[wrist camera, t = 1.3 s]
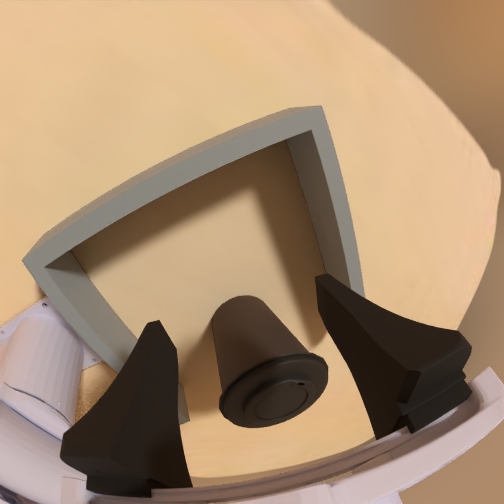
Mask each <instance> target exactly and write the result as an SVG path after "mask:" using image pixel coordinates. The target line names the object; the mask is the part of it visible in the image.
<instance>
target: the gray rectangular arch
mask: <svg viewBox="0 0 504 504" xmlns="http://www.w3.org/2000/svg"><path fill="white" fill-rule="evenodd" d="M282 140H286V143H287V145H288V148H289V151H290V154H291V157H292V160H293V163H294V166H295V169H296V172H297V175H298V178H299V181H300V185H301V188H302V191H303V194H304V197H305V201H306V204H307V207H308V210H309V214H310V217H311V221H312V224H313V227H314V231H315V234H316V238H317V242H318V245H319V249H320V252H321V256H322V260H323V264H324V267H325V271H326V273H328V274H330V275H331V276H333V277H334V278H336V279H337V280H338V281H340V282H341V283H343V284H344V285H346V286H347V287H348V288H350V289H351V290H353V291H354V292H356V293H358V294H359V295H361V296H362V297H364V298H365V294H364V286H363V279H362V273H361V266H360V260H359V254H358V249H357V243H356V238H355V232H354V227H353V222H352V217H351V213H350V208H349V203H348V199H347V194H346V190H345V186H344V182H343V178H342V174H341V170H340V166H339V162H338V158H337V155H336V151H335V147H334V144H333V140H332V137H331V133H330V130H329V127H328V124H327V120H326V117H325V114H324V111H323V108H322V106H307V107H295V108H288V109H286V110H283V111H280V112H277V113H274V114H271V115H268V116H266V117H263V118H260V119H258V120H255V121H252V122H250V123H247V124H245V125H242V126H240V127H237V128H235V129H232V130H230V131H227V132H225V133H223V134H220V135H218V136H216V137H213V138H211V139H209V140H207V141H204V142H202V143H200V144H198V145H196V146H193V147H191V148H189V149H187V150H185V151H183V152H181V153H179V154H177V155H175V156H173V157H171V158H169V159H167V160H165V161H163V162H161V163H159V164H157V165H155V166H153V167H151V168H149V169H147V170H145V171H144V172H142V173H140V174H138V175H136V176H134V177H133V178H131V179H129V180H127V181H126V182H124V183H122V184H120V185H119V186H117V187H115V188H114V189H112V190H110V191H108V192H107V193H105V194H104V195H102V196H100V197H99V198H97V199H95V200H94V201H92V202H91V203H89V204H87V205H86V206H84V207H83V208H81V209H80V210H78V211H77V212H75V213H74V214H72V215H71V216H69V217H68V218H66V219H65V220H63V221H62V222H60V223H59V224H58V225H56V226H55V227H53V228H52V229H51V230H49V231H48V232H46V233H45V234H44V235H43V236H42V237H41V238H40V239H39V241H38V242H37V243H36V244H35V245H34V246H33V247H32V249H31V250H30V251H29V252H28V253H27V254H26V256H25V257H24V258H23V259H22V262H23V263H24V265H25V266H26V268H27V269H28V271H29V272H30V274H31V275H32V276H33V278H34V279H35V281H36V282H37V283H38V285H39V286H40V287H41V289H42V290H43V291H44V293H45V294H46V295H47V297H48V298H49V299H50V301H51V302H52V303H53V304H54V306H55V307H56V308H57V309H58V311H59V312H60V313H61V314H62V315H63V317H64V318H65V319H66V320H67V321H68V323H69V324H70V325H71V326H72V327H73V328H74V329H75V331H76V332H77V333H78V334H79V335H80V336H81V337H82V338H83V339H84V340H85V342H86V343H87V344H88V345H89V346H90V347H91V348H92V349H93V350H94V351H95V352H96V353H97V354H98V355H99V356H100V357H101V358H102V359H103V360H104V361H105V362H106V363H107V364H108V365H109V366H110V367H111V368H112V369H113V370H114V371H115V372H116V373H117V374H119V372H120V371H121V369H122V367H123V366H124V364H125V362H126V361H127V359H128V357H129V356H130V354H131V352H132V350H133V348H134V347H135V345H136V343H137V341H138V339H137V338H136V337H135V336H134V335H133V333H132V332H131V331H130V330H129V329H128V328H127V326H126V325H125V324H124V323H123V322H122V320H121V319H120V318H119V317H118V316H117V314H116V313H115V312H114V311H113V309H112V308H111V307H110V305H109V304H108V303H107V302H106V300H105V299H104V298H103V296H102V295H101V294H100V292H99V291H98V290H97V288H96V287H95V286H94V284H93V283H92V282H91V280H90V279H89V277H88V276H87V275H86V273H85V272H84V270H83V269H82V267H81V266H80V264H79V263H78V262H77V260H76V259H75V257H74V256H73V254H72V253H71V251H70V249H72V248H73V247H75V246H76V245H78V244H80V243H81V242H83V241H84V240H86V239H87V238H89V237H91V236H92V235H94V234H96V233H97V232H99V231H100V230H102V229H104V228H105V227H107V226H109V225H110V224H112V223H114V222H116V221H117V220H119V219H121V218H122V217H124V216H126V215H128V214H129V213H131V212H133V211H135V210H137V209H138V208H140V207H142V206H144V205H146V204H147V203H149V202H151V201H153V200H155V199H157V198H159V197H161V196H162V195H164V194H166V193H168V192H170V191H172V190H174V189H176V188H178V187H180V186H182V185H184V184H186V183H188V182H190V181H192V180H194V179H196V178H198V177H200V176H202V175H204V174H206V173H209V172H211V171H213V170H215V169H217V168H219V167H221V166H224V165H226V164H228V163H230V162H232V161H235V160H237V159H239V158H242V157H244V156H246V155H248V154H251V153H253V152H255V151H258V150H260V149H263V148H265V147H267V146H270V145H272V144H275V143H277V142H280V141H282ZM178 418H179V425H180V424H183V423H186V422H188V421H190V418H189V414H188V409H187V404H186V399H185V394H184V389H183V386H181V385H180V384H179V383H178Z"/></svg>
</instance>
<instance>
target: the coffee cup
mask: <svg viewBox="0 0 504 504" xmlns="http://www.w3.org/2000/svg"><path fill="white" fill-rule="evenodd" d="M212 329H213V336H214V343H215V350H216V356H217V362H218V369H219V375H220V381H221V387H222V392H223V393H222V395H221V397H220V400H219V410H220V411H221V413H222V415H223V416H224V417H225V418H226V419H228V420H229V421H230V422H232V423H233V424H235V425H237V426H241V427H246V428H262V427H268V426H272V425H276V424H279V423H282V422H285V421H287V420H289V419H291V418H293V417H295V416H297V415H299V414H300V413H302V412H303V411H305V410H306V409H308V408H309V407H310V406H311V405H312V404H313V403H315V402H316V400H317V399H318V398H319V397H320V396H321V394H322V393H323V392H324V390H325V388H326V385H327V383H328V365H327V364H326V362H325V360H324V359H323V358H322V357H320V356H318V355H316V354H314V353H309V352H308V350H307V349H306V348H305V347H304V346H303V345H302V344H301V343H300V342H299V341H298V339H297V338H296V337H295V336H294V335H293V334H292V333H291V332H290V331H289V330H288V328H287V327H286V326H285V325H284V324H283V323H282V322H281V321H280V320H279V318H278V317H277V316H276V315H275V314H274V313H273V312H272V311H271V310H270V308H269V307H268V306H267V305H266V304H265V303H264V302H263V301H262V300H260V299H259V298H257V297H253V296H249V295H247V296H238V297H235V298H232V299H229V300H228V301H226V302H225V303H223V304H222V305H221V306H220V307H219V308H218V309H217V310H216V312H215V314H214V316H213V319H212Z"/></svg>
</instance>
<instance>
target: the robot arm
mask: <svg viewBox="0 0 504 504" xmlns="http://www.w3.org/2000/svg"><path fill="white" fill-rule="evenodd" d="M315 282H316V292H317V302H318V311H319V313H320V316H321V318H322V320H323V323H324V325H325V327H326V329H327V331H328V333H329V334H330V336H331V338H332V339H333V341H334V343H335V344H336V346H337V348H338V350H339V351H340V353H341V355H342V356H343V358H344V360H345V362H346V363H347V365H348V367H349V369H350V371H351V373H352V376H353V378H354V380H355V383H356V385H357V387H358V390H359V392H360V395H361V397H362V400H363V402H364V405H365V408H366V411H367V413H368V416H369V419H370V422H371V425H372V428H373V431H374V434H375V437H376V441H374V442H372V443H370V444H368V445H365V446H363V447H361V448H358V449H356V450H353V451H351V452H348V453H345V454H343V455H340V456H338V457H334V458H332V459H329V460H326V461H323V462H320V463H317V464H313V465H310V466H307V467H304V468H300V469H296V470H293V471H289V472H285V473H281V474H277V475H273V476H268V477H263V478H259V479H253V480H248V481H243V482H236V483H230V484H222V485H214V486H205V487H193V485H192V482H191V479H190V475H189V472H188V468H187V464H186V459H185V455H184V450H183V445H182V439H181V433H180V426H179V418H178V358H177V349H176V347H175V346H174V344H173V342H172V341H171V339H170V337H169V336H168V334H167V332H166V331H165V329H164V327H163V326H162V324H161V322H160V320H157V321H153V322H149V323H147V325H146V326H145V328H144V330H143V332H142V334H141V335H140V337H139V339H138V341H137V343H136V345H135V347H134V348H133V350H132V352H131V354H130V356H129V357H128V359H127V361H126V362H125V364H124V366H123V367H122V369H121V371H120V372H119V374H118V375H117V377H116V378H115V380H114V381H113V383H112V384H111V385H110V387H109V388H108V390H107V391H106V392H105V393H104V395H103V396H102V397H101V398H100V399H99V400H98V402H97V403H96V404H95V405H94V406H93V407H92V408H91V409H90V410H89V411H88V412H87V413H86V414H85V415H84V416H83V417H82V418H81V419H80V420H79V421H78V422H77V423H75V419H76V409H77V400H78V392H79V385H80V378H81V372H82V370H84V369H86V368H88V367H91V366H93V365H95V364H97V363H100V362H102V361H103V359H102V358H101V357H100V356H99V355H98V354H97V353H96V352H95V351H94V350H93V349H92V348H91V347H90V346H89V345H88V344H87V343H86V342H85V340H84V339H83V338H82V337H81V336H80V335H79V334H78V333H77V332H76V331H75V329H74V328H73V327H72V326H71V325H70V324H69V323H68V321H67V320H66V319H65V318H64V317H63V315H62V314H61V313H60V312H59V311H58V309H57V308H56V307H55V306H54V304H53V303H52V302H51V301H50V299H49V298H48V297H47V296H46V297H44V298H43V299H41V300H40V301H38V302H37V303H35V304H34V305H32V306H31V307H29V308H28V309H26V310H25V311H23V312H22V313H20V314H19V315H17V316H16V317H14V318H13V319H12V320H10V321H9V322H7V323H6V324H4V325H3V326H2V327H0V504H208V503H216V504H402V501H401V499H400V497H399V494H398V493H399V492H401V491H403V490H405V489H407V488H409V487H411V486H412V485H414V484H416V483H417V482H420V481H421V480H423V479H425V478H426V477H428V476H430V475H431V474H433V473H435V472H436V471H438V470H439V469H441V468H442V467H444V466H446V465H447V464H449V463H450V462H451V461H453V460H454V459H456V458H457V457H459V456H460V455H461V454H463V453H464V452H465V451H467V450H468V449H469V448H471V447H472V446H473V445H475V444H476V443H477V442H478V441H480V440H481V439H482V438H483V437H485V436H486V435H487V434H488V433H489V432H491V431H492V430H493V429H494V428H495V427H496V426H497V425H498V424H499V423H500V422H501V421H503V419H504V385H503V383H502V382H501V381H500V380H499V378H498V377H497V375H496V374H495V373H494V372H493V370H492V369H491V368H490V367H487V368H486V369H485V370H484V371H482V372H481V373H480V374H478V375H477V376H476V377H474V378H473V379H472V380H471V381H470V382H469V383H468V384H467V383H466V382H465V381H464V379H465V378H466V375H465V374H464V372H463V371H462V369H463V368H464V366H465V364H466V362H467V360H468V359H469V356H470V354H471V349H472V347H471V345H470V344H469V343H468V341H467V340H466V339H465V337H464V336H463V335H462V334H461V333H460V332H459V331H456V330H450V329H444V328H438V327H434V326H430V325H426V324H422V323H419V322H416V321H413V320H410V319H407V318H404V317H402V316H399V315H397V314H395V313H392V312H390V311H388V310H386V309H384V308H382V307H380V306H378V305H376V304H374V303H372V302H371V301H369V300H367V299H366V298H364V297H362V296H361V295H359V294H358V293H356V292H354V291H353V290H351V289H350V288H348V287H347V286H346V285H344V284H343V283H341V282H340V281H338V280H337V279H336V278H334V277H333V276H331V275H330V274H328V273H326V274H323V275H320V276H317V277H315ZM44 303H46V304H47V306H46V305H44ZM351 470H353V471H352V475H349V476H346V477H344V478H340V479H337V480H333V481H330V482H326V483H318V484H313V483H316V482H320V481H323V480H326V479H329V478H332V477H334V476H338V475H340V474H343V473H346V472H348V471H351ZM310 484H312V485H310ZM306 485H308V486H306ZM218 502H221V503H218Z"/></svg>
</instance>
